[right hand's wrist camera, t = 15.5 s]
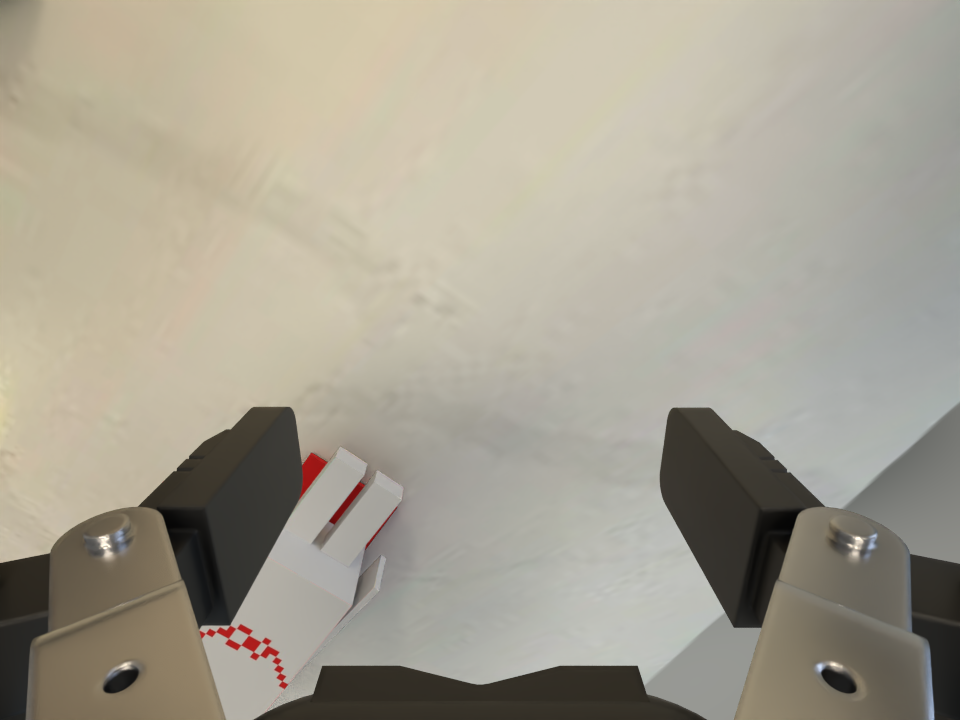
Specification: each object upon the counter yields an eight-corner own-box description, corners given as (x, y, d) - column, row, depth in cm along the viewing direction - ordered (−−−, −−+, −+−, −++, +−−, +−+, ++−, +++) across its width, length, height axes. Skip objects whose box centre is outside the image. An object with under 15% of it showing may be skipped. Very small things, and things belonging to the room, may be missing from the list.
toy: (428, 550, 38) (205, 821, 42) (430, 469, 51) (260, 682, 55) (284, 460, 35) (62, 757, 39) (325, 399, 48) (155, 628, 52)
